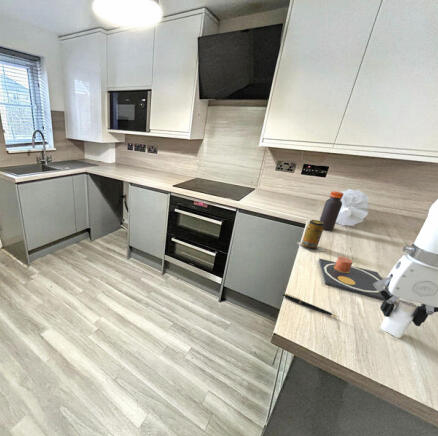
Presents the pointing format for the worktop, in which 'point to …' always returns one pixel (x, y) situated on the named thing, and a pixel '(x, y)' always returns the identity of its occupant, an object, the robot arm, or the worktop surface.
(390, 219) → the worktop surface
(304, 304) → the fountain pen
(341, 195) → the bottle
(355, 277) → the face board
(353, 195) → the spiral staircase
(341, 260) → the red faceted block
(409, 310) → the pepper shaker
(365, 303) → the worktop surface
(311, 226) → the condiment
